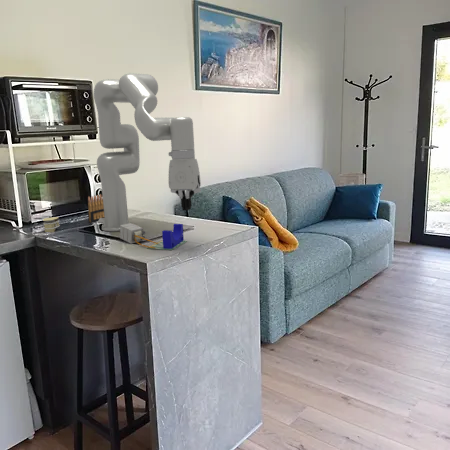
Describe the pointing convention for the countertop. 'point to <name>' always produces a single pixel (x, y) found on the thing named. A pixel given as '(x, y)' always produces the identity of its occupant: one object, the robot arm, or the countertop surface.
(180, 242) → the header pad
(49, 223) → the stacked layers on plate
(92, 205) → the ammunition clip
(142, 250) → the countertop surface
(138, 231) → the electrical component
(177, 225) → the cable clip
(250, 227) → the countertop surface
